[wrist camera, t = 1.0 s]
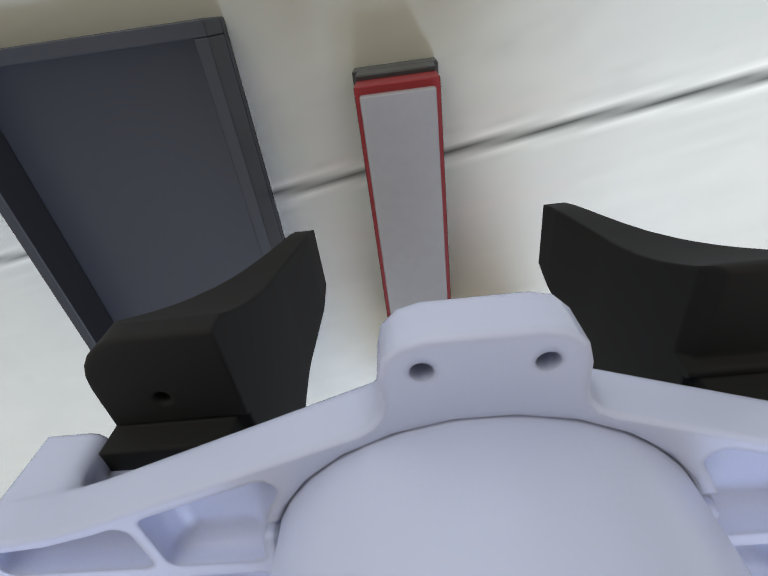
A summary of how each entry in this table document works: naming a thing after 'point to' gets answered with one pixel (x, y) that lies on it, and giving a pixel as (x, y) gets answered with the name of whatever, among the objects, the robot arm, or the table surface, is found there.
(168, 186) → the tray
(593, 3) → the table surface
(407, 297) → the red and grey slab
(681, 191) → the table surface
